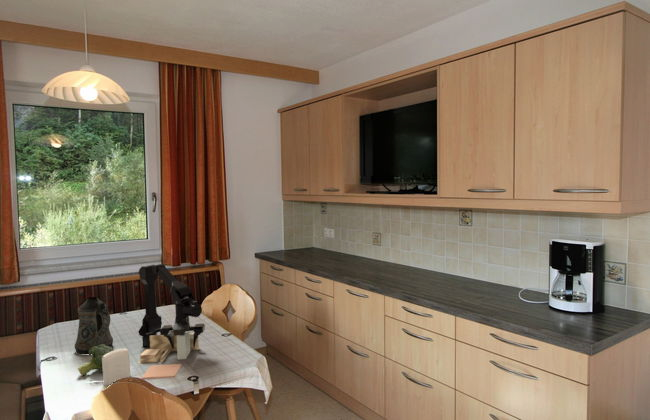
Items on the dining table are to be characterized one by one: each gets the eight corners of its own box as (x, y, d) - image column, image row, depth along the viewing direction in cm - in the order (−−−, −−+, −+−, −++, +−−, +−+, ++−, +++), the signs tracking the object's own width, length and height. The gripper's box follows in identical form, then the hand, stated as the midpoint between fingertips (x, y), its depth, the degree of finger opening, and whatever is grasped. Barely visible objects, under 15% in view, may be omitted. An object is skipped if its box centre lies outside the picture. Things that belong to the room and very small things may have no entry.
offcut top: (140, 358, 192) (140, 355, 192) (146, 352, 199) (146, 349, 199) (155, 357, 192) (155, 354, 192) (160, 351, 199) (160, 348, 199)
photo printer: (106, 386, 170) (104, 355, 169) (101, 383, 172) (99, 353, 172) (132, 377, 178) (130, 347, 177) (127, 374, 180) (125, 345, 180)
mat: (141, 379, 176) (141, 377, 176) (151, 366, 188) (151, 365, 188) (174, 377, 177) (174, 375, 177) (182, 365, 189) (181, 363, 189)
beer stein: (88, 343, 220) (85, 293, 219) (125, 342, 219) (123, 293, 217) (66, 355, 203) (63, 302, 202) (107, 355, 202) (104, 302, 201)
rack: (140, 364, 190) (139, 346, 190) (151, 352, 205) (150, 335, 204) (191, 362, 192) (191, 344, 191) (198, 349, 206) (198, 333, 206)
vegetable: (79, 364, 188) (113, 342, 193) (91, 389, 183) (125, 366, 189) (67, 356, 177) (103, 334, 183) (80, 383, 173) (117, 359, 178)
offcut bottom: (138, 366, 191) (138, 363, 191) (145, 358, 200) (145, 355, 200) (157, 365, 191) (157, 362, 191) (163, 357, 200) (163, 354, 200)
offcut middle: (140, 362, 191) (139, 359, 191) (146, 355, 199) (145, 352, 199) (157, 361, 192) (156, 357, 192) (162, 354, 200) (162, 351, 200)
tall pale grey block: (177, 360, 194) (176, 336, 193) (182, 353, 203) (181, 329, 202) (185, 360, 194) (184, 335, 193) (190, 352, 203) (189, 329, 202)
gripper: (155, 320, 189) (157, 355, 189) (199, 318, 190) (201, 353, 191) (163, 312, 200) (164, 346, 201) (204, 310, 201) (206, 344, 202)
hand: (183, 347), depth 198 cm, fingers open, 9 cm apart
